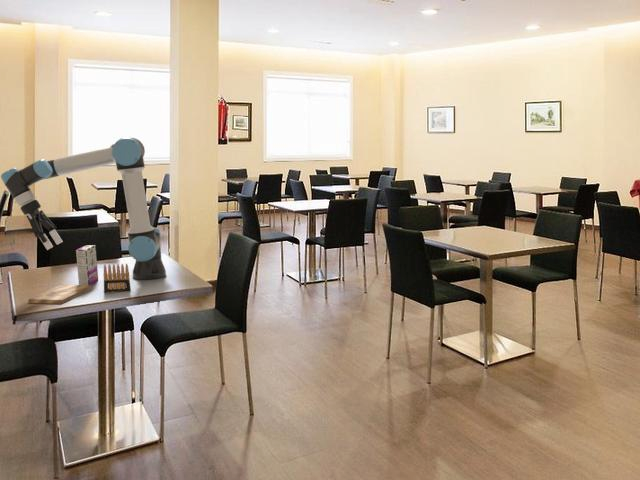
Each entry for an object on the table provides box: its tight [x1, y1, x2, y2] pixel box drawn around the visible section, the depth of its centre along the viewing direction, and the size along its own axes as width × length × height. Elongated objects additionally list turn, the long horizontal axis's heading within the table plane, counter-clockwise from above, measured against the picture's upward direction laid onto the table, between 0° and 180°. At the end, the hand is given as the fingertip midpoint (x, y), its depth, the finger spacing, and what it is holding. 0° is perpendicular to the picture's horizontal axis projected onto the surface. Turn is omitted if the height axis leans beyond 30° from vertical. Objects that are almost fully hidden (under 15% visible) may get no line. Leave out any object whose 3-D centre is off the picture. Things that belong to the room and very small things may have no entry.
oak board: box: [28, 284, 93, 305], centre depth 252 cm, size 14×24×2 cm, turn 173°
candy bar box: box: [75, 244, 99, 285], centre depth 272 cm, size 11×5×16 cm, turn 179°
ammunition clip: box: [103, 263, 132, 293], centre depth 257 cm, size 11×2×12 cm, turn 100°
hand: (55, 245), depth 264 cm, fingers open, 13 cm apart
